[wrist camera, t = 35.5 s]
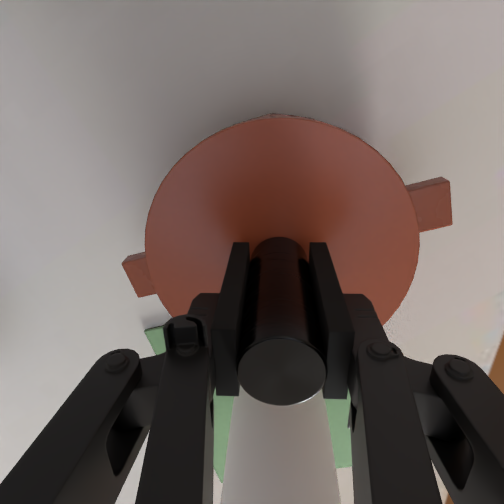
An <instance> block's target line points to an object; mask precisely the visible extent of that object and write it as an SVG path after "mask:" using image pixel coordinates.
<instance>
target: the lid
mask: <svg viewBox="0 0 504 504" xmlns="http://www.w3.org/2000/svg"><path fill="white" fill-rule="evenodd" d="M233 242H249V246H250V267H249V275H248V282H247V289H246V297H245V304H244V311H243V319H242V326H241V333H240V341H239V348H238V355H237V362H236V375H237V378H238V381H239V383H240V385H241V387H242V388H243V389H244V390H245V391H246V393H248V394H249V395H250V396H251V397H253V398H254V399H256V400H258V401H260V402H263V403H266V404H270V405H276V406H289V405H295V404H299V403H302V402H305V401H307V400H309V399H311V398H312V397H314V396H315V395H316V394H317V393H318V392H319V391H320V390H321V389H322V387H323V386H324V384H325V382H326V379H327V375H328V366H327V361H326V355H325V350H324V345H323V339H322V334H321V329H320V324H319V318H318V313H317V308H316V302H315V297H314V292H313V287H312V281H311V276H310V271H309V265H308V264H309V244H310V242H326V243H327V246H328V250H329V253H330V256H331V259H332V262H333V265H334V268H335V271H336V274H337V277H338V280H339V284H340V287H341V290H342V293H344V294H363V295H365V296H366V297H367V298H368V299H369V300H370V301H371V302H372V304H373V307H374V309H375V311H376V313H377V316H378V318H379V320H380V322H381V325H382V326H383V325H384V324H385V323H386V322H387V321H388V320H389V319H390V317H391V316H392V315H393V314H394V312H395V311H396V310H397V309H398V307H399V306H400V304H401V302H402V301H403V299H404V297H405V296H406V294H407V292H408V290H409V287H410V285H411V283H412V280H413V278H414V274H415V270H416V267H417V263H418V255H419V247H420V242H419V225H418V220H417V215H416V210H415V208H414V205H413V202H412V199H411V196H410V194H409V192H408V190H407V188H406V186H405V185H404V183H403V181H402V179H401V178H400V176H399V175H398V174H397V172H396V171H395V170H394V168H393V167H392V166H391V164H390V163H389V162H388V161H387V160H386V159H385V158H384V157H383V156H382V155H381V154H380V153H379V152H378V151H376V150H375V149H374V148H372V147H371V146H370V145H368V144H367V143H365V142H364V141H363V140H361V139H360V138H358V137H357V136H355V135H353V134H351V133H349V132H347V131H345V130H343V129H341V128H339V127H336V126H333V125H330V124H327V123H324V122H321V121H316V120H311V119H306V118H301V117H281V116H279V117H268V118H259V119H254V120H250V121H246V122H241V123H238V124H236V125H233V126H230V127H228V128H225V129H223V130H220V131H219V132H217V133H215V134H213V135H211V136H210V137H208V138H206V139H204V140H203V141H201V142H200V143H199V144H198V145H196V146H195V147H194V148H192V149H191V150H190V151H188V152H187V153H186V154H185V155H184V156H183V157H182V158H181V159H180V160H179V161H178V162H177V163H176V164H175V165H174V166H173V167H172V169H171V170H170V172H169V173H168V174H167V176H166V177H165V178H164V180H163V181H162V183H161V185H160V187H159V189H158V191H157V192H156V194H155V196H154V199H153V202H152V205H151V207H150V210H149V213H148V218H147V224H146V229H145V254H146V262H147V266H148V271H149V275H150V278H151V281H152V283H153V286H154V288H155V291H156V293H157V295H158V296H159V298H160V300H161V302H162V304H163V305H164V307H165V308H166V309H167V311H168V312H169V313H170V315H171V316H172V317H173V318H174V317H176V316H179V315H184V314H187V313H188V310H189V308H190V305H191V302H192V300H193V299H194V298H195V297H196V296H197V295H198V294H200V293H220V291H221V287H222V283H223V279H224V275H225V272H226V268H227V264H228V260H229V256H230V253H231V249H232V245H233Z"/></svg>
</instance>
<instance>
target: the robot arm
mask: <svg viewBox="0 0 504 504" xmlns="http://www.w3.org/2000/svg"><path fill="white" fill-rule="evenodd" d="M308 265H309V271H310V276H311V281H312V287H313V292H314V297H315V302H316V308H317V313H318V318H319V324H320V329H321V334H322V339H323V345H324V350H325V355H326V361H327V366H328V375H327V379H326V382H325V384H324V386H323V387H322V394H323V399H346V400H347V394H348V389H349V393H350V397H351V402H350V410H349V417H348V425H347V428H349V429H350V434H351V452H352V471H353V489H354V504H442V500H441V496H440V492H439V489H438V485H437V481H436V477H435V474H434V470H433V466H432V462H433V464H434V466H435V468H436V470H437V472H438V474H439V476H440V478H441V479H442V481H443V483H444V485H445V487H446V489H447V491H448V493H449V495H450V497H451V498H452V500H453V502H454V504H504V394H503V393H502V392H501V391H500V390H499V388H498V387H497V386H496V385H495V384H494V383H493V382H492V380H491V379H490V378H489V377H488V376H487V375H486V373H485V372H484V371H483V370H482V369H481V368H480V367H479V366H478V365H476V364H475V363H474V362H472V361H470V360H468V359H466V358H463V357H460V356H457V355H448V354H445V355H441V356H438V357H437V358H435V359H434V362H433V365H432V364H428V363H423V362H419V361H415V360H412V359H409V358H407V357H405V356H403V353H402V352H401V350H400V348H398V347H397V346H396V345H395V344H393V343H391V342H389V340H388V338H387V336H386V334H385V331H384V329H383V327H382V325H381V322H380V320H379V318H378V316H377V313H376V311H375V309H374V307H373V304H372V302H371V301H370V300H369V299H368V298H367V297H366V296H365V295H363V294H344V293H342V290H341V287H340V284H339V280H338V277H337V274H336V271H335V268H334V265H333V262H332V259H331V256H330V253H329V250H328V246H327V243H326V242H310V244H309V264H308ZM249 267H250V246H249V242H233V245H232V249H231V253H230V256H229V260H228V264H227V268H226V272H225V275H224V279H223V283H222V287H221V291H220V293H200V294H198V295H197V296H196V297H195V298H194V299H193V300H192V302H191V305H190V308H189V310H188V313H187V314H184V315H179V316H176V317H174V318H171V319H170V320H169V321H167V322H166V323H165V325H164V327H163V334H164V340H165V347H166V352H164V353H161V354H159V355H155V356H151V357H146V358H142V359H140V358H139V354H138V353H136V352H135V351H134V350H130V349H118V350H114V351H110V352H109V353H107V354H105V355H103V356H102V357H101V358H100V359H99V360H97V361H96V363H95V364H94V365H93V366H92V368H91V369H90V370H89V372H88V373H87V374H86V375H85V377H84V378H83V379H82V381H81V382H80V383H79V384H78V386H77V387H76V388H75V389H74V391H73V392H72V393H71V395H70V396H69V397H68V398H67V400H66V401H65V402H64V404H63V405H62V406H61V407H60V409H59V410H58V411H57V412H56V414H55V415H54V416H53V418H52V419H51V420H50V421H49V423H48V424H47V425H46V427H45V428H44V429H43V430H42V432H41V433H40V434H39V435H38V437H37V438H36V439H35V441H34V442H33V443H32V444H31V446H30V447H29V448H28V450H27V451H26V452H25V453H24V455H23V456H22V457H21V458H20V460H19V461H18V462H17V464H16V465H15V466H14V467H13V469H12V470H11V471H10V473H9V474H8V475H7V476H6V478H5V479H4V480H3V481H2V483H1V484H0V504H115V502H116V500H117V497H118V495H119V493H120V491H121V489H122V487H123V485H124V483H125V481H126V478H127V476H128V474H129V472H130V470H131V468H132V466H133V464H134V462H135V459H136V457H137V455H138V453H139V451H140V449H141V447H142V445H143V443H144V441H145V438H146V436H147V434H148V432H149V430H150V432H149V437H148V442H147V447H146V452H145V457H144V462H143V467H142V472H141V477H140V482H139V487H138V491H137V496H136V501H135V504H213V463H214V398H213V396H214V391H215V387H216V396H239V391H240V383H239V381H238V378H237V375H236V362H237V355H238V348H239V341H240V333H241V326H242V319H243V311H244V304H245V297H246V289H247V282H248V275H249ZM431 460H432V462H431Z"/></svg>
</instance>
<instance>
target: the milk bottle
mask: <svg viewBox="0 0 504 504" xmlns="http://www.w3.org/2000/svg"><path fill="white" fill-rule="evenodd" d="M220 504H341V499H340V493H339V486H338V479H337V473H336V466H335V459H334V453H333V447H332V440H331V434H330V428H329V422H328V415H327V409H326V403H325V399H323V394H322V389H321V390H320V391H319V392H318V393H317V394H316V395H315V396H314V397H312V398H311V399H309V400H307V401H305V402H302V403H299V404H295V405H289V406H276V405H270V404H266V403H263V402H260V401H258V400H256V399H254V398H253V397H251V396H250V395H249V394H248V393H246V391H245V390H244V389H243V388H242V387H241V385H240V391H239V396H234V401H233V408H232V415H231V423H230V430H229V438H228V446H227V454H226V462H225V470H224V478H223V487H222V495H221V503H220Z"/></svg>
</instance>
